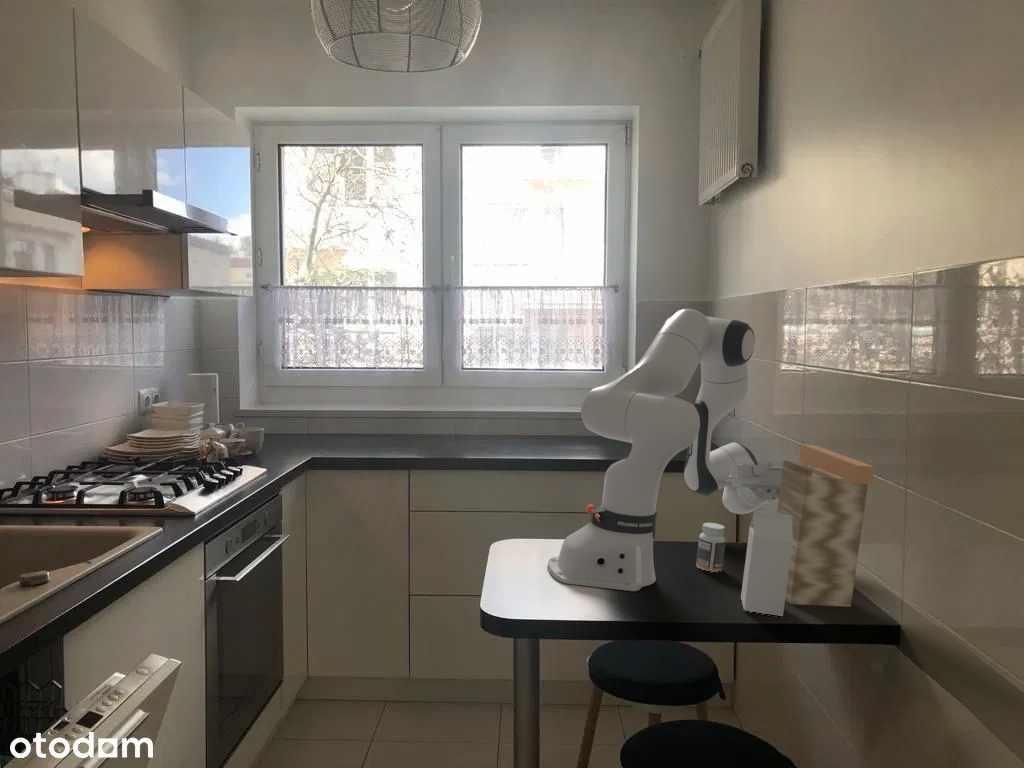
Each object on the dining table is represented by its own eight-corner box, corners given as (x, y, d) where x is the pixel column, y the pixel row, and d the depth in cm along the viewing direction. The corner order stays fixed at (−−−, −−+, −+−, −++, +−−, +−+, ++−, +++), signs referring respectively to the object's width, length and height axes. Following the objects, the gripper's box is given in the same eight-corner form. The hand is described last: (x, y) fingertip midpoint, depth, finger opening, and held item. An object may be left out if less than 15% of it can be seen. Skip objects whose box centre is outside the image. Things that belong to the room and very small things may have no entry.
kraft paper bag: (790, 604, 153) (807, 471, 150) (767, 585, 163) (783, 460, 160) (850, 606, 155) (869, 475, 152) (824, 588, 165) (841, 464, 162)
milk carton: (782, 618, 145) (795, 520, 143) (743, 612, 146) (756, 514, 144) (777, 605, 152) (789, 511, 150) (740, 599, 153) (752, 506, 151)
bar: (855, 483, 148) (857, 465, 147) (799, 460, 169) (801, 444, 169) (872, 484, 148) (874, 466, 148) (813, 461, 170) (816, 445, 169)
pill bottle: (717, 565, 173) (722, 522, 172) (725, 574, 168) (730, 530, 167) (692, 563, 173) (697, 520, 172) (699, 572, 168) (704, 528, 167)
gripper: (720, 469, 189) (744, 450, 177) (798, 475, 192) (827, 457, 180) (722, 494, 187) (747, 477, 174) (801, 499, 189) (831, 483, 177)
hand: (788, 467), depth 177 cm, fingers open, 8 cm apart
